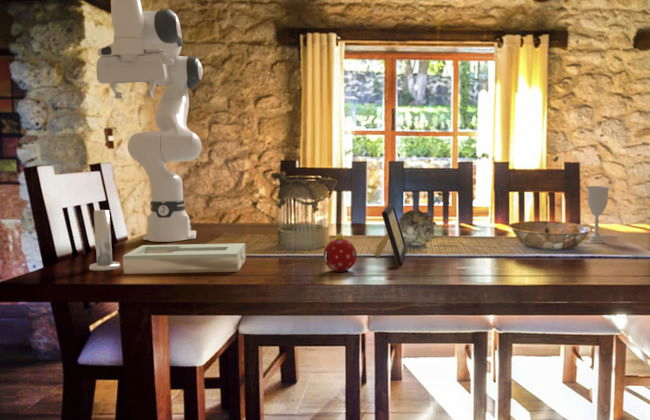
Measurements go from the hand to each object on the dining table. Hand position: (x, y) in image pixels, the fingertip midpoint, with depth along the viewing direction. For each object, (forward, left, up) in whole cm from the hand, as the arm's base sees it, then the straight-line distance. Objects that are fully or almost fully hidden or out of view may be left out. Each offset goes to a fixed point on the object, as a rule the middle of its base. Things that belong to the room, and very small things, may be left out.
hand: (134, 97), depth 166 cm
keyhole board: (+17, +18, -48) cm, 54 cm away
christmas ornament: (+27, +60, -48) cm, 81 cm away
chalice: (-9, +145, -48) cm, 153 cm away
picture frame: (+9, +75, -48) cm, 90 cm away
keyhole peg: (+17, -5, -48) cm, 51 cm away
